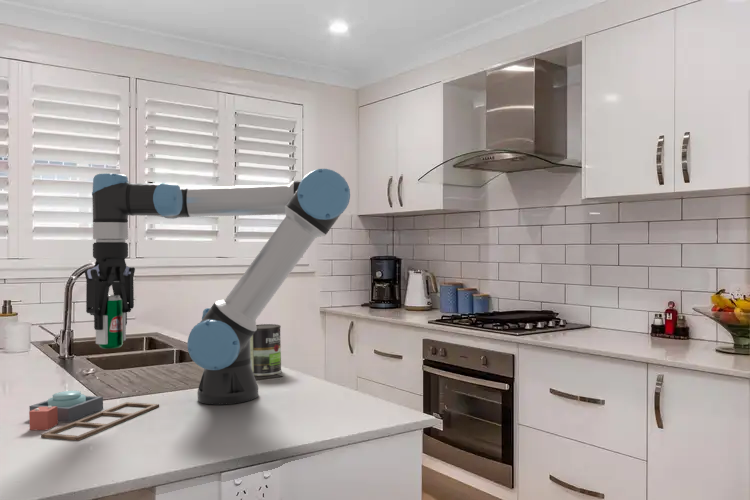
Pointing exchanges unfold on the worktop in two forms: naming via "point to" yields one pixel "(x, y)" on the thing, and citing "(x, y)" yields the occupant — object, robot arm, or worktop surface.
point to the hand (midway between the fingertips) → (111, 341)
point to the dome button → (66, 399)
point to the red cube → (43, 418)
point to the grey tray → (75, 408)
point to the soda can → (114, 322)
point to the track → (99, 426)
